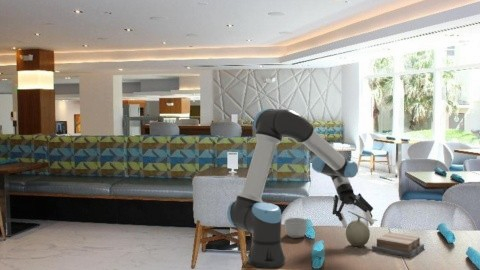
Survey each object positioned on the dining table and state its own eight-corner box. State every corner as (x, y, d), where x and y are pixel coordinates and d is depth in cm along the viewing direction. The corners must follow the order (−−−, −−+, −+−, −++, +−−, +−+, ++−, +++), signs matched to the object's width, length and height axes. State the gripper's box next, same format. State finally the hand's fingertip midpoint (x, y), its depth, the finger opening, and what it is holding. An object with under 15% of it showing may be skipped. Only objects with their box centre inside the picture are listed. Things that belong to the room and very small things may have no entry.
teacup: (307, 239, 235) (307, 222, 235) (284, 239, 236) (284, 222, 235) (304, 231, 249) (304, 216, 249) (282, 231, 249) (283, 216, 249)
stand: (410, 257, 208) (410, 245, 207) (371, 250, 218) (372, 239, 218) (424, 248, 221) (424, 237, 220) (387, 241, 231) (387, 231, 231)
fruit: (372, 250, 219) (373, 216, 218) (345, 248, 221) (346, 215, 220) (370, 243, 229) (371, 211, 228) (345, 242, 231) (345, 210, 230)
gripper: (363, 190, 245) (379, 227, 232) (317, 193, 238) (331, 231, 225) (369, 181, 240) (386, 219, 227) (322, 183, 233) (337, 222, 219)
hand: (358, 225), depth 226 cm, fingers open, 13 cm apart
